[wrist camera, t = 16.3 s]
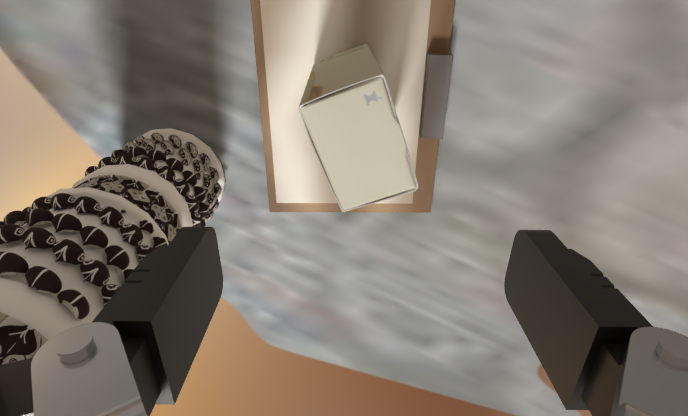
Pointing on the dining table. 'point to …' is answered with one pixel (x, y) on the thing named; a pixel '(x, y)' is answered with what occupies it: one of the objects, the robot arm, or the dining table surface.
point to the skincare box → (356, 130)
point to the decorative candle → (99, 234)
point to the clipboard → (394, 60)
